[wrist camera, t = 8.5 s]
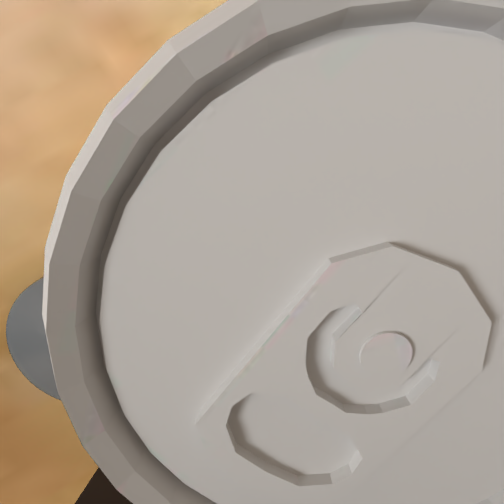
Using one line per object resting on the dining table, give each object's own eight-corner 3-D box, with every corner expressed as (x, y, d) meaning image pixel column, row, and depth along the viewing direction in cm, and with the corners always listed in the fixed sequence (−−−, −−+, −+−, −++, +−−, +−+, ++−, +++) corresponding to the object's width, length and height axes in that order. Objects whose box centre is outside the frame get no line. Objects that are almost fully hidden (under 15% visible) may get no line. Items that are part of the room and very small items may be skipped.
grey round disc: (37, 405, 21) (31, 413, 20) (-8, 275, 18) (-16, 280, 18) (177, 391, 21) (176, 398, 20) (153, 259, 18) (150, 264, 18)
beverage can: (192, 213, 18) (4, 573, 3) (211, 86, 16) (-16, -269, 2) (307, 234, 18) (557, 618, 4) (337, 113, 16) (987, 21, 2)
